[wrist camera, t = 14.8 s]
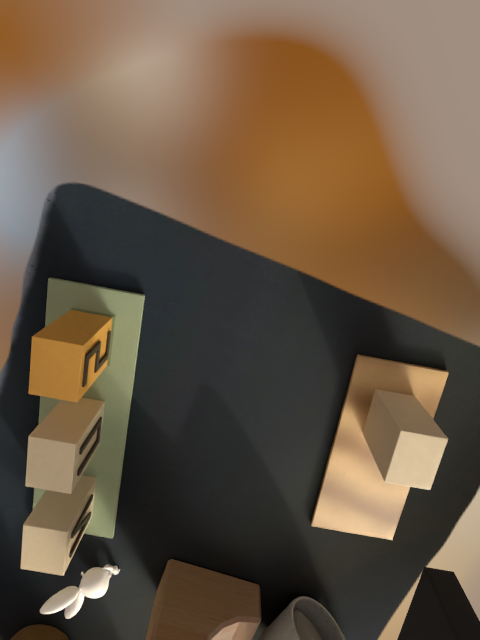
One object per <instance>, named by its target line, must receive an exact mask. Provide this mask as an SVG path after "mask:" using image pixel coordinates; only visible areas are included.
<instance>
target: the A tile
mask: <svg viewBox="0 0 480 640" xmlns="http://www.w3.org/2000/svg"><path fill="white" fill-rule="evenodd" d="M363 435H364V438H365V440H366V442H367V444H368V447H369V449H370V451H371V453H372V455H373V458H374V460H375V462H376V464H377V467H378V469H379V471H380V473H381V475H382V478H383V480H384V482H387V483H393V484H399V485H404V486H410V487H416V488H422V489H427V490H430V489H431V486H432V483H433V480H434V477H435V475H436V472H437V469H438V466H439V463H440V461H441V458H442V455H443V452H444V449H445V446H446V444H447V441H448V438H447V437H446V435H445V434H444V433H443V432H442V430H441V429H440V428H439V426H438V425H437V424H436V423H435V421H434V420H433V419H432V418H431V416H430V415H429V414H428V412H427V411H426V410H425V409H424V407H423V406H422V405H421V403H420V402H419V401H418V400H417V398H416V397H415V396H412V395H406V394H401V393H395V392H390V391H384V390H379V389H375V392H374V396H373V399H372V402H371V406H370V409H369V413H368V416H367V419H366V423H365V426H364V430H363Z"/></svg>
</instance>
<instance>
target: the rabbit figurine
mask: <svg viewBox="0 0 480 640" xmlns="http://www.w3.org/2000/svg"><path fill="white" fill-rule="evenodd" d="M106 569H108V570H106ZM109 570H110V572H109ZM119 571H120V569H118V567H117V566H112V565H109V564H107V565H105V566H104V567H103V568H101V567H94V568H91V569H90V570H88V571H87V572H86V573H85V574H84V573H83V571H82V572H81V575H82V579H81V582H80V585H79V588H78V587H76V586H69V587H66V588H64V589H63V590H61V591H59V592H58V593H56V594H55V595H53V596H52V597H50V598H49V599H48V600H47V601H46V602H45V603H44V604H43V606H42V607H41V609H40V613H41V614H52V613H55V612H58V611H60V610H62V609H64V608H65V607H66V608H65V612H64V616H65V618H66V619H70V618H71V617H73V616H74V615H76V614H77V612H78V611H79V610H80V608H81V606H82V603H83V601H84V596H86V597H88V598H99V597H101V596H103V595H104V594H105V593H106V591H107V588H108V582H109V578H110V577H111V575H112V573H114V575H116V574H117V573H118V572H119Z"/></svg>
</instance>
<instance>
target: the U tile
mask: <svg viewBox="0 0 480 640" xmlns="http://www.w3.org/2000/svg"><path fill="white" fill-rule="evenodd" d="M104 405H105V401H100V400H94V399H88V398H83V397H81V399H80V400H79V401H78V402H72V401H66V400H60V401H59V402H58V404H57V405H56V406H55V407H54V408H53V409H52V410H51V411H50V413H49V414H48V415H47V416H46V417H45V418H44V419H43V420H42V422H41V423H40V424H39V425H38V426H37V427H36V428H35V429H34V431H33V432H32V433H31V434H30V435H29V436H28V453H27V469H26V486H27V487H33V488H39V489H44V490H50V491H56V492H62V493H68V494H71V493H72V492H73V490H74V488H75V487H76V485H77V483H78V481H79V480H80V478H81V476H82V475H83V473H84V471H85V469H86V468H87V466H88V464H89V463H90V461H91V459H92V457H93V456H94V454H95V452H96V451H97V449H98V447H99V445H100V441H101V432H102V423H103V414H104Z"/></svg>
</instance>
